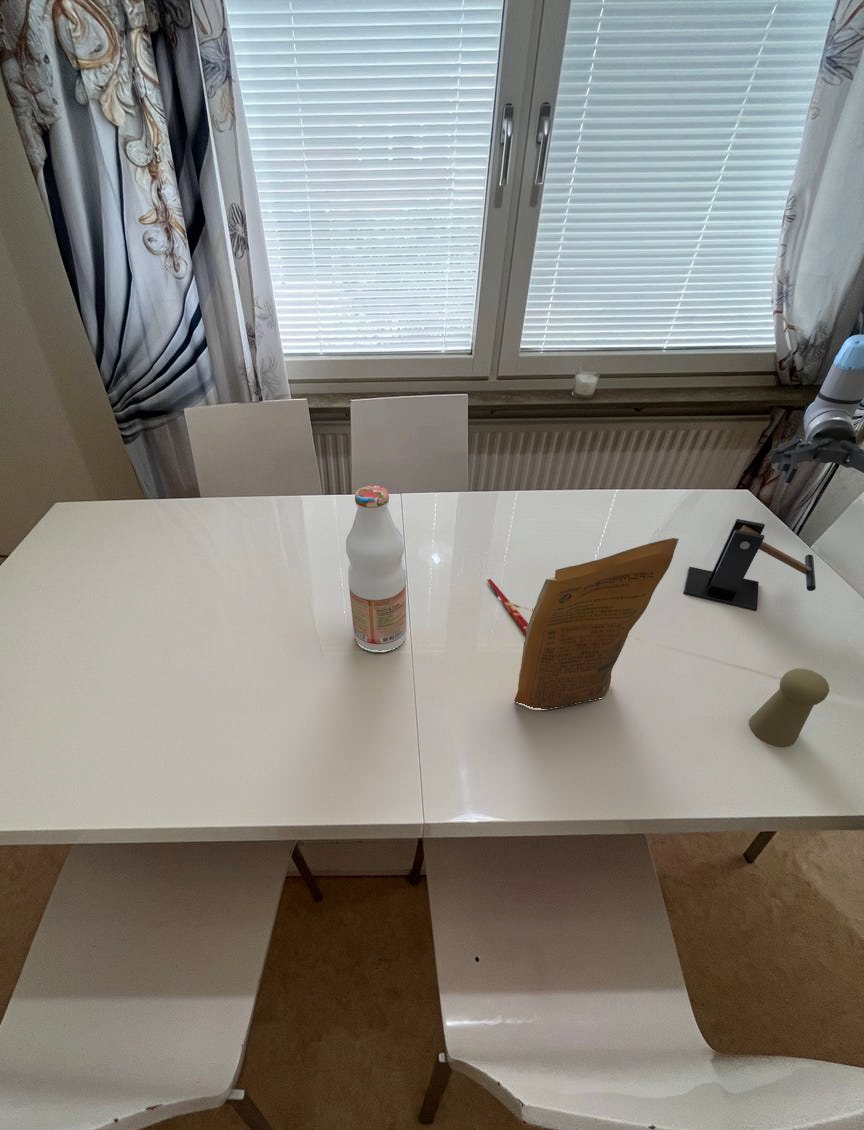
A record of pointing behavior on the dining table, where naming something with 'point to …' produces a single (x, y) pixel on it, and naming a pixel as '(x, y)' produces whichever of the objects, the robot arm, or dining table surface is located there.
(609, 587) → the pancake mix bag
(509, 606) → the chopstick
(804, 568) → the wood and metal hammer
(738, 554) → the black lever stand
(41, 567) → the dining table surface
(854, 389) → the robot arm
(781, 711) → the cork
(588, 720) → the dining table surface
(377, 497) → the fruit juice
